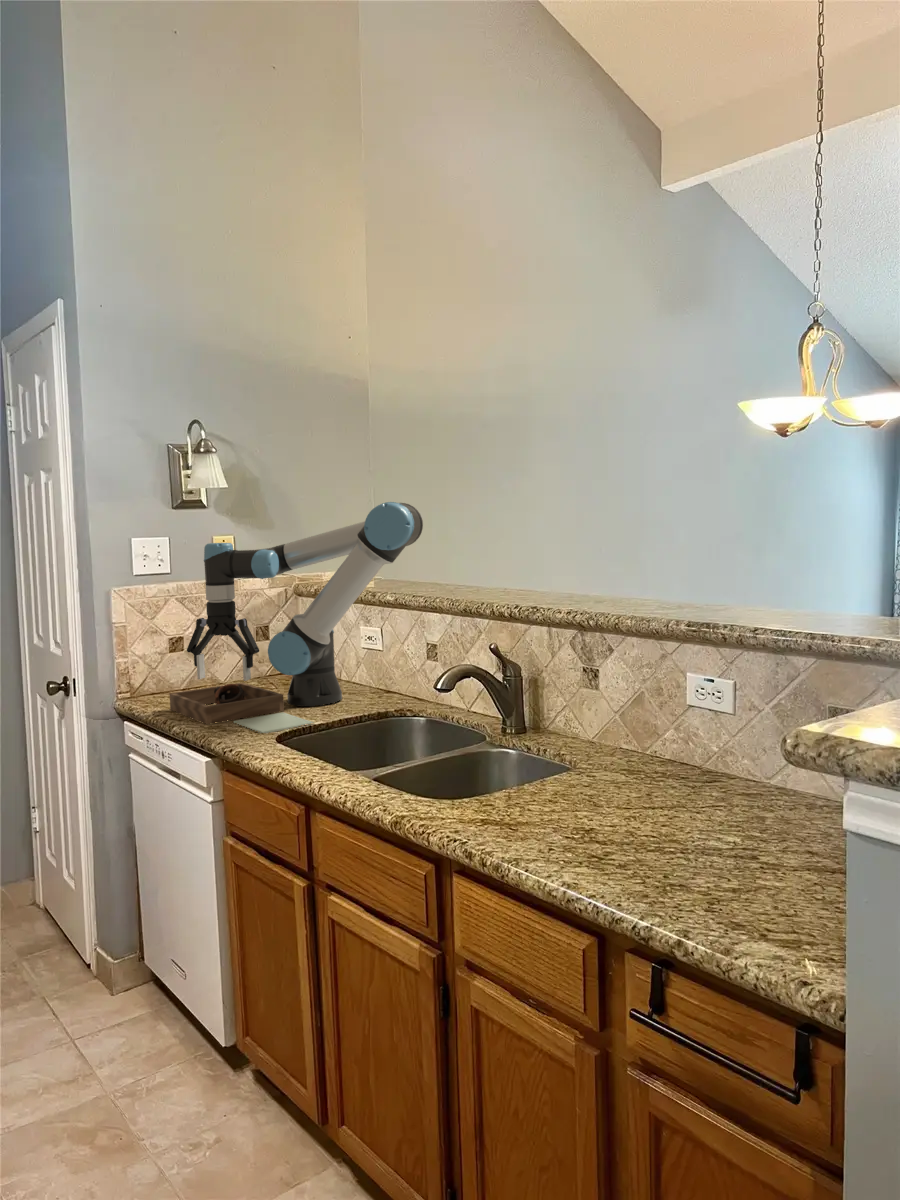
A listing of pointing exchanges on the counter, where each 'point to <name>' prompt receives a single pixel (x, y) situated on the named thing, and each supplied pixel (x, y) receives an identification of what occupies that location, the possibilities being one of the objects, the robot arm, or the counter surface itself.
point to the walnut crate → (225, 704)
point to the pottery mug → (229, 694)
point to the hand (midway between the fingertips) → (224, 679)
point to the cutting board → (272, 722)
